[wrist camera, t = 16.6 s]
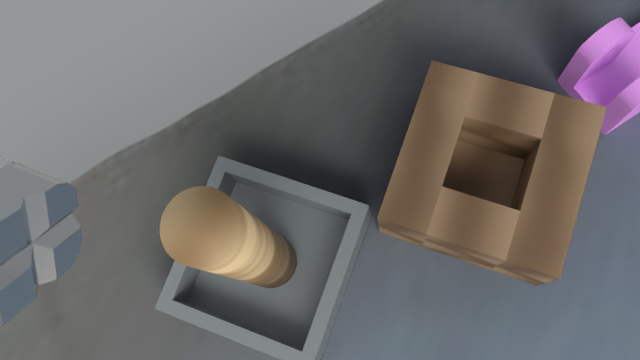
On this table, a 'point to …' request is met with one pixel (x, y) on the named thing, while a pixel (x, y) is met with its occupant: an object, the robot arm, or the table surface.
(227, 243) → the oak dowel
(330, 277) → the grey tray
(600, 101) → the bracket
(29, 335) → the table surface
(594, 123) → the walnut holder
